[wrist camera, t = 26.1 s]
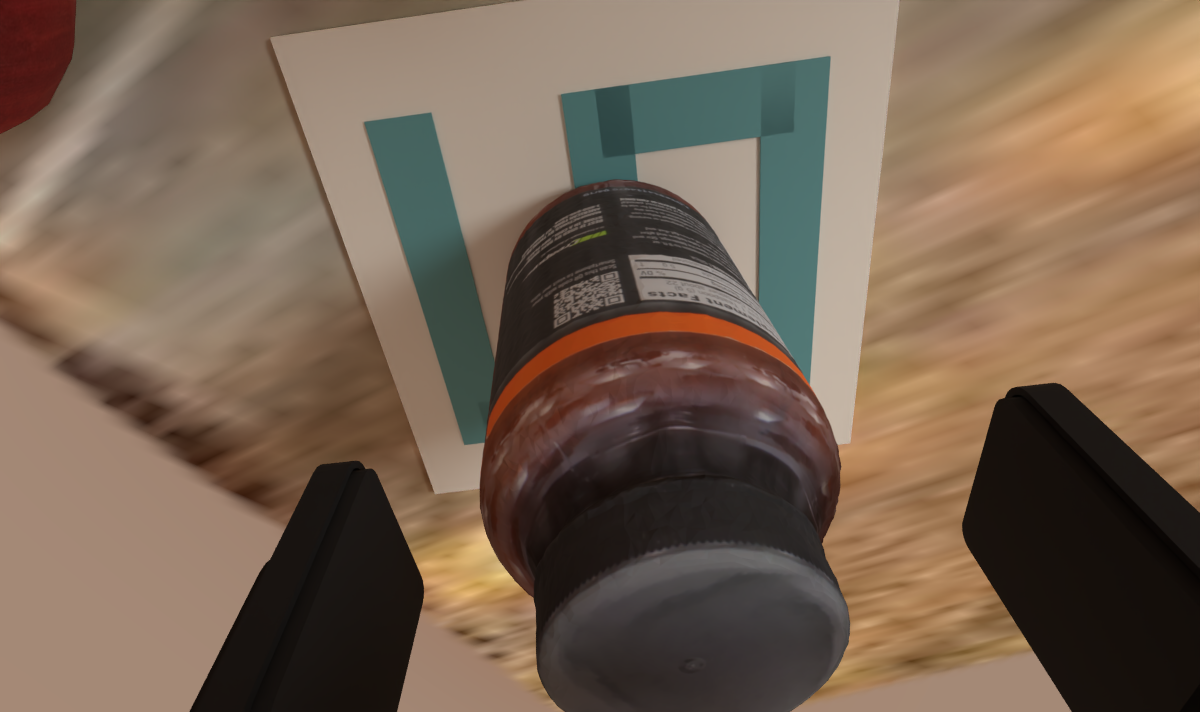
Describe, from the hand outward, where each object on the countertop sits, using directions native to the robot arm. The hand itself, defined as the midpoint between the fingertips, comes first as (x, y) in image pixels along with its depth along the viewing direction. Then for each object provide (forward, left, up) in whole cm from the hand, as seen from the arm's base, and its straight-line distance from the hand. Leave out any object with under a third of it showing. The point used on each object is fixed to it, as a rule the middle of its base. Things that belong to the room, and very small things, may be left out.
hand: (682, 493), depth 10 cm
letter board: (0, 0, -9) cm, 9 cm away
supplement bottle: (0, -1, -9) cm, 9 cm away
